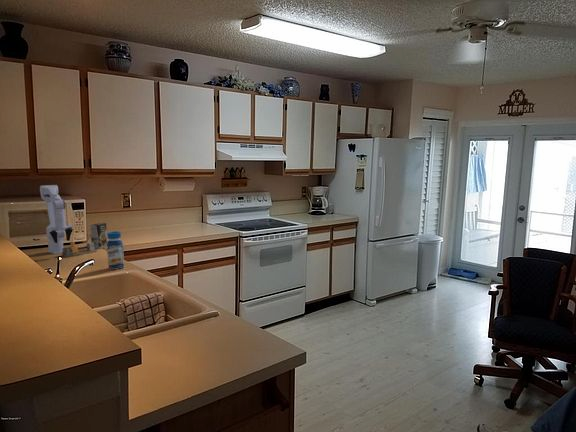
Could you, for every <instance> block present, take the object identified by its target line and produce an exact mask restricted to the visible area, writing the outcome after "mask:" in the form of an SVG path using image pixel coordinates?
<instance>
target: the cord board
mask: <svg viewBox="0 0 576 432" xmlns="http://www.w3.org/2000/svg"><path fill="white" fill-rule="evenodd" d="M85 244H86V245H85V246H80V247H79V246H78V252H77V253H73V251H72V249H71V248H68V246H67V247H63V248H62V251H63V252H62V253H61V256H63V257H66V258H73V257H77V256H83V255H87V254H93V252H94V253H97V251H98V249H97V250H96V249H95V246H94V243H92V242H91V241H89V242H86V243H85Z"/></svg>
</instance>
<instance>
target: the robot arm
mask: <svg viewBox="0 0 576 432" xmlns="http://www.w3.org/2000/svg"><path fill="white" fill-rule="evenodd" d="M39 192H40V198H41V200H43V201H45V204H46V209H47V215H48V220H49V221H48V222H49V225H47V227H46V228H45V230H46V231H45V233H46V238H47V240H48V242H47V245H48V247H47V248H48V251H47V253H49V254H52V255H56V254H57V255H58V254H63V251H62V248H64V240H63V239H64V238H66V241H67V242H71V235H72V233H73V231H74V225H72V224H71V225H67V223H66V213H65V212H66V211H65V210H66V202H65V199H63V198H61V196H60V195H59V186H58V185H57V184H51V185H50V184H49V185H48V184H47V185H46V184H45V185H40V186H39Z"/></svg>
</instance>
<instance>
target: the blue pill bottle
mask: <svg viewBox="0 0 576 432" xmlns="http://www.w3.org/2000/svg"><path fill="white" fill-rule="evenodd" d="M121 238H122V235H121V231H117V230H116V231H108V232H107V242H108V243H107V247H106V248H107V249H106V252H107V253H106V254H107V263H108V269H109V268H110V269H109V270H111V269H117V270H119V269H118V268H122V267H124V268H125V259H124V258H125V256H124V255H125V254H124V250H125V249H124V247H123V241H122V240H121ZM122 269H123V268H122Z"/></svg>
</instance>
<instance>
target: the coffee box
mask: <svg viewBox="0 0 576 432" xmlns="http://www.w3.org/2000/svg"><path fill="white" fill-rule="evenodd" d="M89 227H90V230H89V231H90V242H92V243H94V246H95V250H96V249H97V250H101V249H103V248H108V247H107V243H108V236H107V233H108V230H107V223H106V222H103V223H102V222H99V223H94V224H90V225H89Z"/></svg>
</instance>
